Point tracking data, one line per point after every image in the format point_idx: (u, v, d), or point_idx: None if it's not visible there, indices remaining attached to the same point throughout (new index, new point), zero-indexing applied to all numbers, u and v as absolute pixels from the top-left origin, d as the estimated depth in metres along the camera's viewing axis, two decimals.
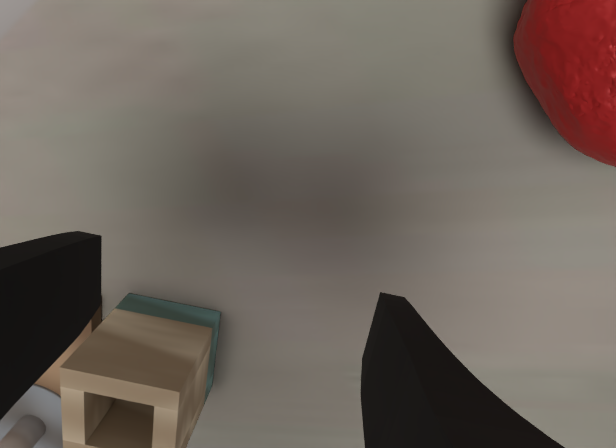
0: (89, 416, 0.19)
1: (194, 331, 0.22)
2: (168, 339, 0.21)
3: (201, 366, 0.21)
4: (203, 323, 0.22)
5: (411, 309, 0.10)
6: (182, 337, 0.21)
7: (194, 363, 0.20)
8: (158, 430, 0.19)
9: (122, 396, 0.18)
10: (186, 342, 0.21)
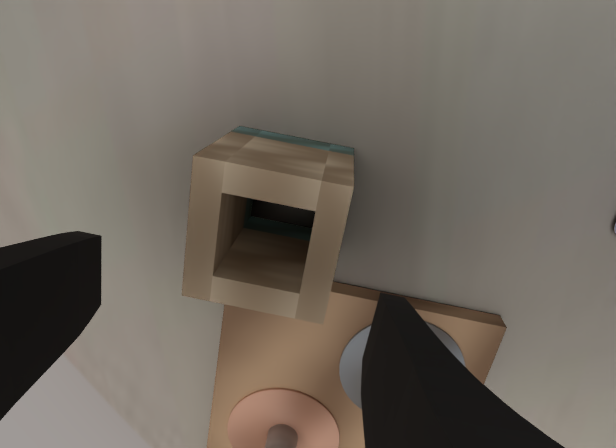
0: (266, 281, 0.15)
1: None
2: None
3: (253, 143, 0.16)
4: None
5: (411, 309, 0.10)
6: None
7: (212, 144, 0.15)
8: (262, 193, 0.14)
9: (212, 230, 0.14)
10: None
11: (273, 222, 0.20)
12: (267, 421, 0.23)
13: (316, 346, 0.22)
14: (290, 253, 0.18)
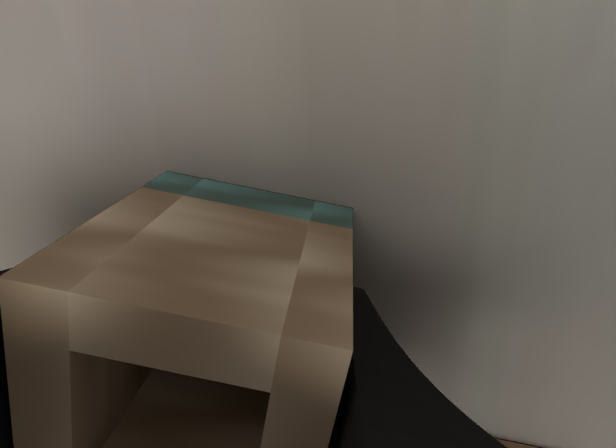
0: None
1: None
2: None
3: (169, 217, 0.09)
4: None
5: (365, 300, 0.10)
6: None
7: (79, 229, 0.08)
8: (155, 355, 0.06)
9: (61, 418, 0.07)
10: None
11: None
12: None
13: None
14: (243, 397, 0.10)
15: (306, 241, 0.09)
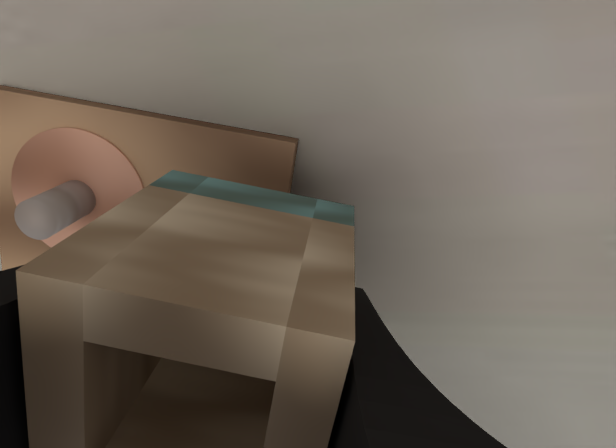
0: None
1: None
2: None
3: (176, 214, 0.09)
4: None
5: (365, 299, 0.10)
6: None
7: (90, 225, 0.08)
8: (165, 345, 0.07)
9: (74, 406, 0.07)
10: None
11: None
12: (94, 180, 0.19)
13: None
14: (247, 389, 0.11)
15: (309, 238, 0.09)
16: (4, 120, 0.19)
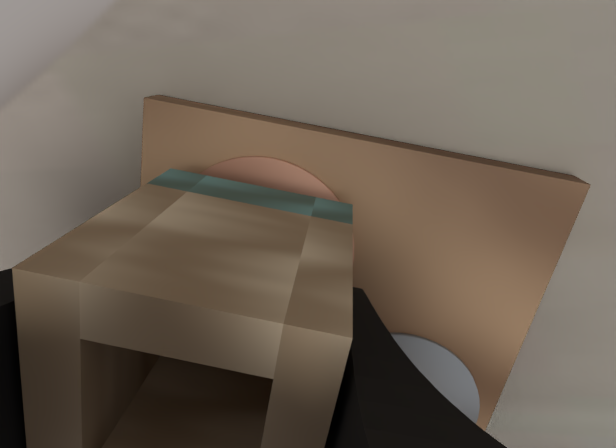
0: None
1: None
2: None
3: (174, 212, 0.09)
4: None
5: (365, 299, 0.10)
6: None
7: (87, 223, 0.08)
8: (163, 343, 0.07)
9: (71, 404, 0.07)
10: None
11: None
12: None
13: (434, 304, 0.14)
14: (246, 388, 0.11)
15: (307, 235, 0.09)
16: (167, 144, 0.13)
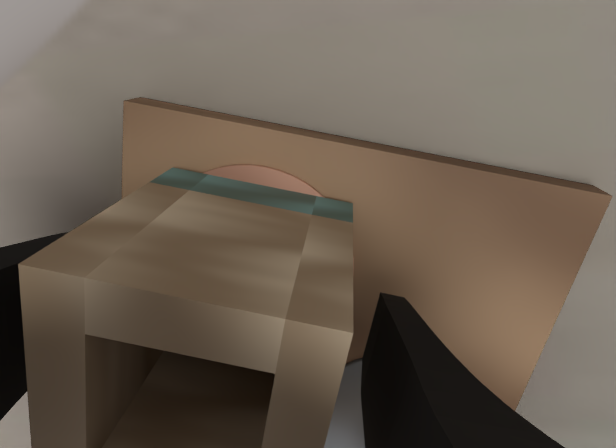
0: None
1: None
2: None
3: (177, 211, 0.09)
4: None
5: (411, 309, 0.10)
6: None
7: (91, 221, 0.08)
8: (166, 338, 0.07)
9: (76, 399, 0.07)
10: None
11: None
12: None
13: (440, 323, 0.13)
14: (247, 385, 0.11)
15: (308, 234, 0.09)
16: (150, 151, 0.12)
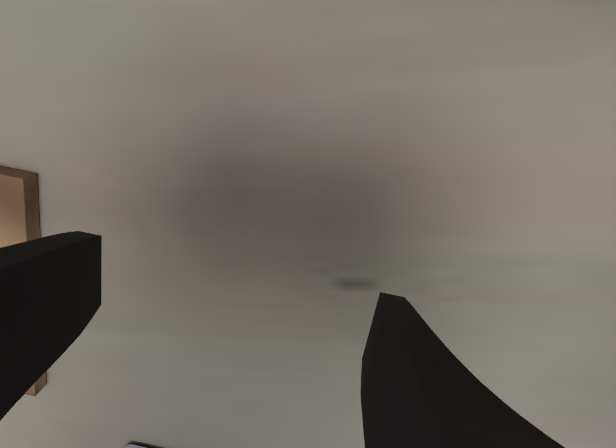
0: None
1: None
2: None
3: None
4: None
5: (411, 309, 0.10)
6: None
7: None
8: None
9: None
10: None
11: None
12: None
13: None
14: None
15: None
16: None
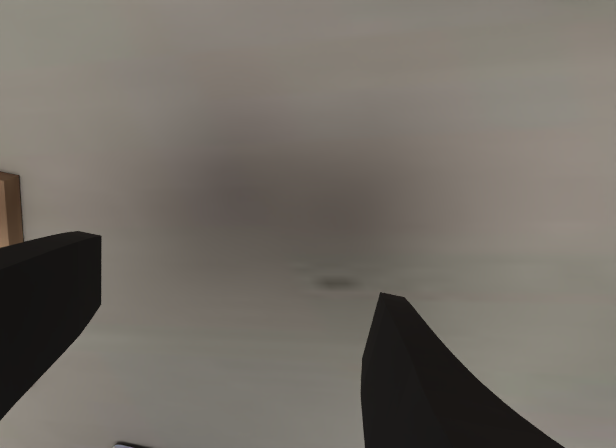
0: None
1: None
2: None
3: None
4: None
5: (411, 309, 0.10)
6: None
7: None
8: None
9: None
10: None
11: None
12: None
13: None
14: None
15: None
16: None
